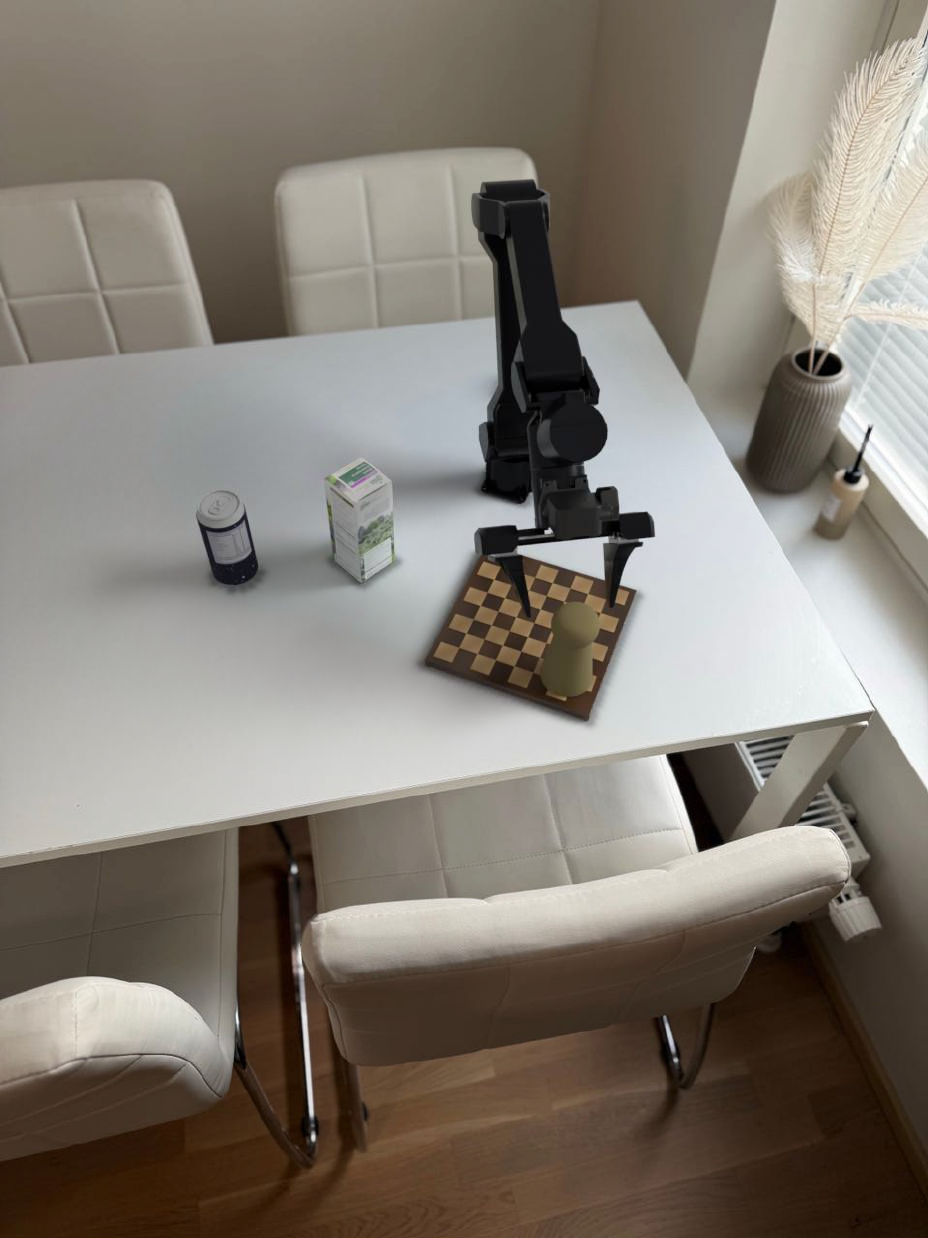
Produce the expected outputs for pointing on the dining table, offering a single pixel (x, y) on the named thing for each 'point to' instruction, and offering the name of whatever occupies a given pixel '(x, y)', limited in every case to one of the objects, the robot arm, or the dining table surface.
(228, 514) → the beverage can
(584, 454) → the robot arm
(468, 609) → the chessboard
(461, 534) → the dining table surface
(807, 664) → the dining table surface
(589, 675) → the chess pawn
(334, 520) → the syrup box
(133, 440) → the dining table surface
